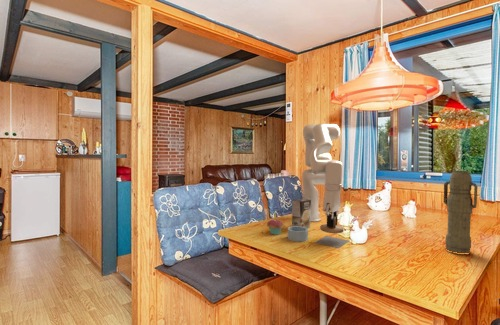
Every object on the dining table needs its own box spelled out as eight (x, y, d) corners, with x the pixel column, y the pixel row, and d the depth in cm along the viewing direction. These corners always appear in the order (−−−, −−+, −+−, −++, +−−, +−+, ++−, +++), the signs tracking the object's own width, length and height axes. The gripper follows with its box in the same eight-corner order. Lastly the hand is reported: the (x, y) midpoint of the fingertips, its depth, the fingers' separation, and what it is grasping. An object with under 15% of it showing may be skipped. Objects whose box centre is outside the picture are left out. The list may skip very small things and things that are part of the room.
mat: (326, 236, 146) (326, 235, 146) (349, 241, 138) (349, 240, 138) (313, 243, 135) (313, 242, 135) (338, 249, 127) (338, 248, 127)
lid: (325, 225, 144) (326, 212, 144) (346, 229, 138) (347, 216, 137) (316, 230, 136) (316, 217, 136) (338, 234, 130) (338, 221, 129)
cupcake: (282, 236, 146) (282, 212, 145) (265, 235, 147) (266, 211, 147) (283, 231, 154) (284, 209, 154) (268, 230, 156) (268, 208, 155)
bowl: (294, 235, 148) (294, 225, 148) (311, 238, 142) (311, 228, 142) (284, 239, 140) (284, 229, 140) (301, 243, 134) (301, 232, 134)
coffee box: (301, 231, 155) (301, 201, 154) (291, 229, 159) (291, 200, 159) (310, 228, 161) (311, 199, 160) (301, 226, 166) (301, 198, 165)
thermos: (444, 246, 133) (447, 170, 131) (476, 252, 124) (479, 171, 123) (438, 250, 127) (441, 170, 125) (472, 257, 118) (475, 172, 117)
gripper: (332, 184, 144) (331, 220, 146) (317, 188, 131) (316, 228, 133) (347, 186, 140) (346, 223, 141) (333, 190, 127) (332, 231, 128)
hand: (331, 225), depth 137 cm, fingers closed on lid, 3 cm apart
